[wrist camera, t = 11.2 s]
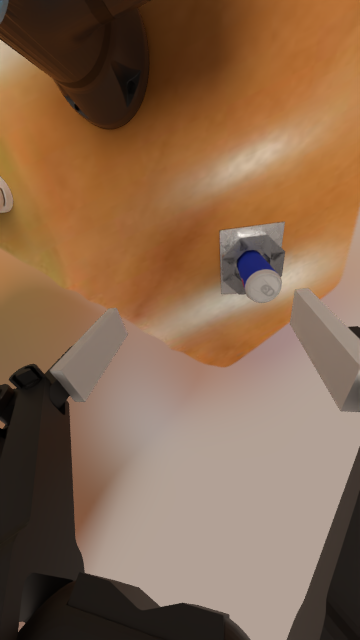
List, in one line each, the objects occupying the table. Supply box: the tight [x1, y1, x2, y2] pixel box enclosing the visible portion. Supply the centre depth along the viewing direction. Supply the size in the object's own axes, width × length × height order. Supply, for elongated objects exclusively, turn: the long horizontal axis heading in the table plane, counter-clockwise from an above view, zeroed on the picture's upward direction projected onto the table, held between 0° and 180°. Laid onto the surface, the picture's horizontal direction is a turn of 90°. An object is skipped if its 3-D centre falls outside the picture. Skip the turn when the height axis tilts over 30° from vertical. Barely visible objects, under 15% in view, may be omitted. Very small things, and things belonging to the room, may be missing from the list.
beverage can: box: [237, 250, 282, 303], centre depth 33 cm, size 5×5×15 cm
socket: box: [220, 222, 285, 294], centre depth 38 cm, size 14×12×4 cm
